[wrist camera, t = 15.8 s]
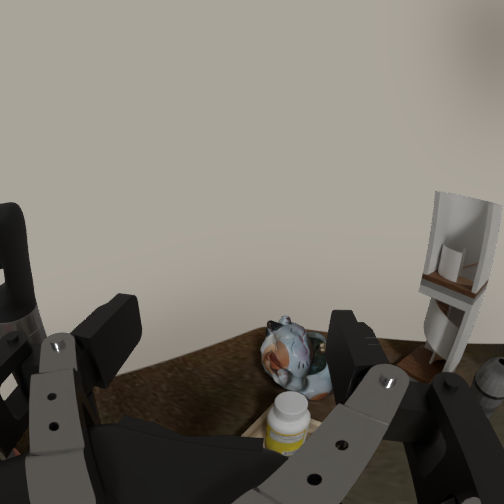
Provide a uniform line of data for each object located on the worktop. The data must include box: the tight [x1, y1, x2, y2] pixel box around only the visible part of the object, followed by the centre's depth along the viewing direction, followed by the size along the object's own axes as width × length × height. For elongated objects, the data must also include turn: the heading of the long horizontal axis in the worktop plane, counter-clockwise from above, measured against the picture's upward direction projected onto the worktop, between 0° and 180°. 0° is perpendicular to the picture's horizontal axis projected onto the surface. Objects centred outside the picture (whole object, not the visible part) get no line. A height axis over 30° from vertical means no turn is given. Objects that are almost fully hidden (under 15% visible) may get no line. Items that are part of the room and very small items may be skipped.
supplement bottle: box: [265, 391, 310, 458], centre depth 31 cm, size 5×5×10 cm
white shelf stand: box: [396, 191, 502, 384], centre depth 41 cm, size 11×11×35 cm
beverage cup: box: [471, 357, 504, 419], centre depth 26 cm, size 7×7×20 cm
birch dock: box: [241, 403, 322, 448], centre depth 33 cm, size 11×10×3 cm
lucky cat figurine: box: [260, 316, 334, 401], centre depth 46 cm, size 15×12×14 cm
